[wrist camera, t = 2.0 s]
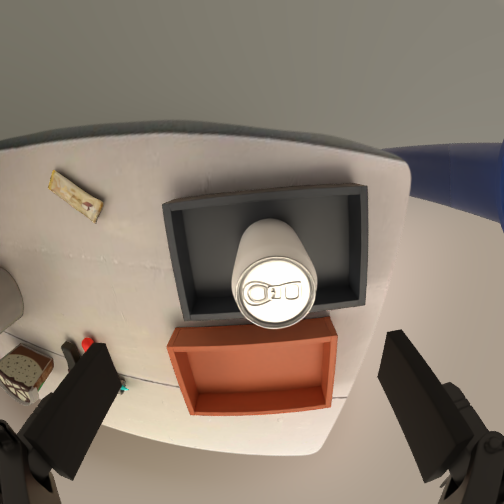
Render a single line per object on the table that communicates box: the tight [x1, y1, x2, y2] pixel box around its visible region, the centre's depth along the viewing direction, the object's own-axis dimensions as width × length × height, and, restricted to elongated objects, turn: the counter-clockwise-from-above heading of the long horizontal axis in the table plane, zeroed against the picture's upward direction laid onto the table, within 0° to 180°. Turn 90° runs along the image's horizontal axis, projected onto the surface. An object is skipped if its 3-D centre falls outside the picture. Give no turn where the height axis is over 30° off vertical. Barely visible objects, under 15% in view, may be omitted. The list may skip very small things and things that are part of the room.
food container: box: [0, 343, 54, 406], centre depth 34 cm, size 12×6×10 cm, turn 82°
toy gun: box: [61, 338, 128, 395], centre depth 35 cm, size 10×12×5 cm
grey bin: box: [162, 183, 368, 321], centre depth 29 cm, size 20×13×4 cm, turn 96°
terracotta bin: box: [167, 317, 338, 416], centre depth 34 cm, size 20×13×4 cm, turn 96°
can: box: [232, 219, 317, 329], centre depth 25 cm, size 6×6×12 cm
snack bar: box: [48, 170, 103, 224], centre depth 29 cm, size 10×2×3 cm
